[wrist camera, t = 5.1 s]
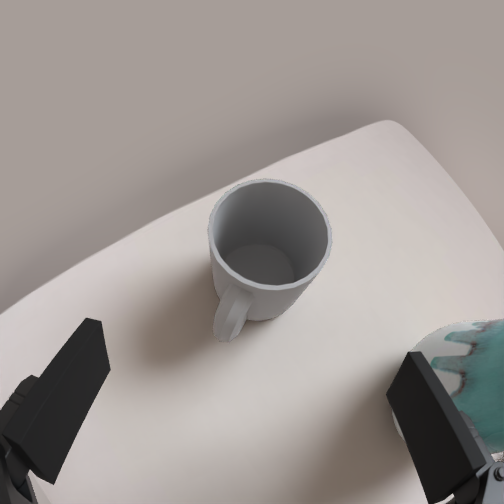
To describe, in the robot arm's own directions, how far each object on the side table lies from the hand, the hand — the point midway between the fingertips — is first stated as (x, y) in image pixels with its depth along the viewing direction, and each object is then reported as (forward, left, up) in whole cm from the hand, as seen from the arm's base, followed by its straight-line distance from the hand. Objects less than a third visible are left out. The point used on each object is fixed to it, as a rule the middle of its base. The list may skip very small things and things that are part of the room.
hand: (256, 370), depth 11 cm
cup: (-5, +4, -12) cm, 13 cm away
